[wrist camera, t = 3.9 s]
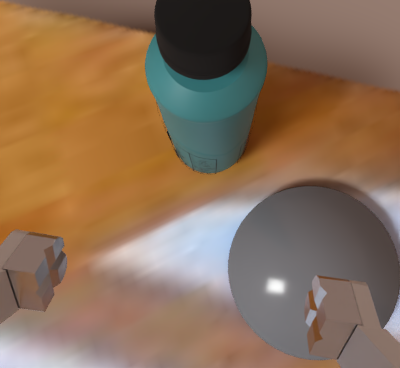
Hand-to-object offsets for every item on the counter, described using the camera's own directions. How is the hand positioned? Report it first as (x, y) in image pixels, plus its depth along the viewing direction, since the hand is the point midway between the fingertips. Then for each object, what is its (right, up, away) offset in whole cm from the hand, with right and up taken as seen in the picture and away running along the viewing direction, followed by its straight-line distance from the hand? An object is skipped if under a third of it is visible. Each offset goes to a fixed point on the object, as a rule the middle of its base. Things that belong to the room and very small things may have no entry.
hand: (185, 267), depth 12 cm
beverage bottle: (+1, +6, +22) cm, 23 cm away
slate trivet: (+10, -5, +20) cm, 23 cm away
